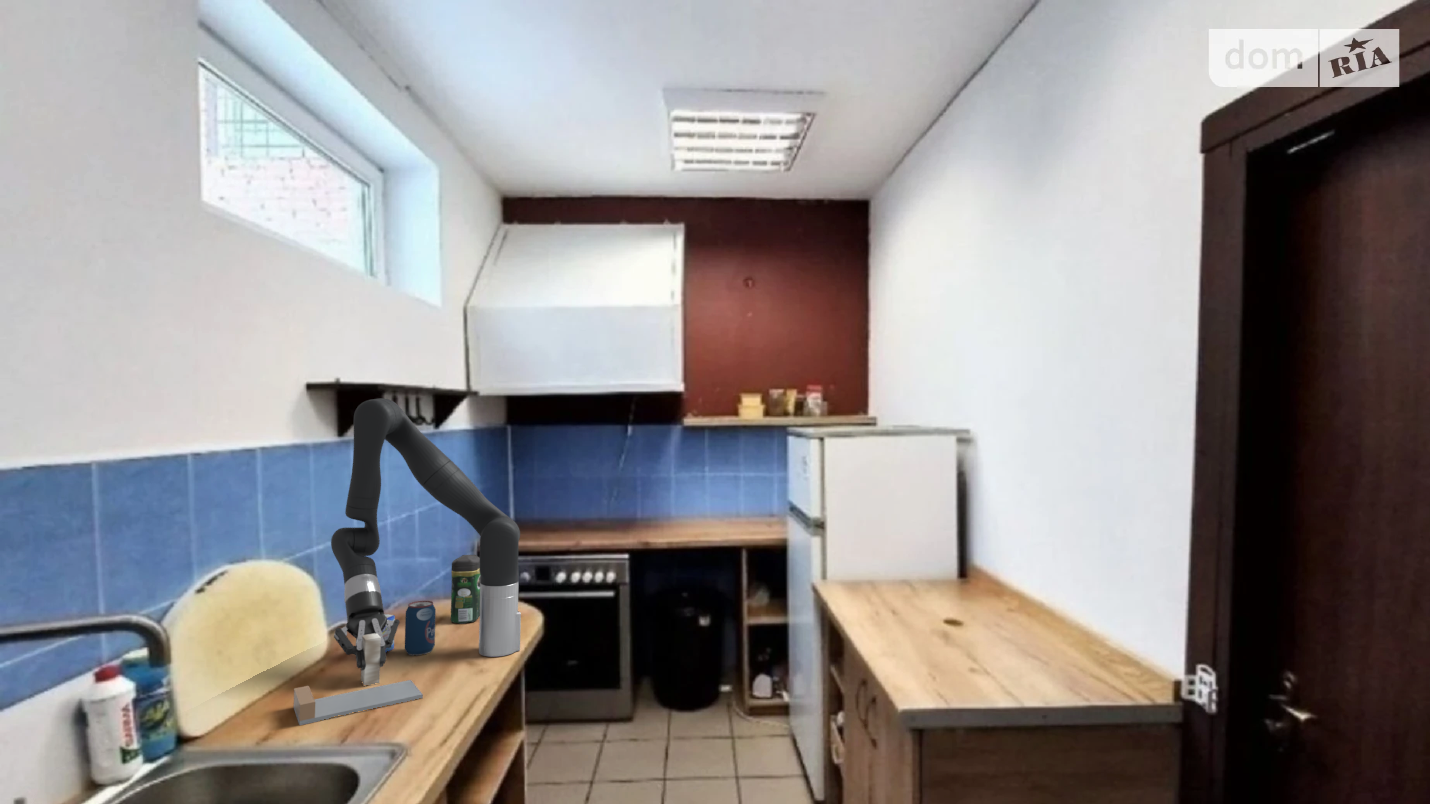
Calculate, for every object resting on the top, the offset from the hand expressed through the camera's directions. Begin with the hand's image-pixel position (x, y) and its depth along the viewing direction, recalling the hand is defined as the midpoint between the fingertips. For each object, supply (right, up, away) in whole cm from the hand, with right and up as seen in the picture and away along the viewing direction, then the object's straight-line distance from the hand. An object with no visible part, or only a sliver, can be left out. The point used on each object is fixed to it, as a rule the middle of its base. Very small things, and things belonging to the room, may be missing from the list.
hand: (372, 666), depth 148 cm
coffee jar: (+2, -6, +50) cm, 51 cm away
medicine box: (-9, -5, +20) cm, 23 cm away
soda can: (+1, -5, +22) cm, 22 cm away
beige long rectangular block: (-1, -4, +1) cm, 5 cm away
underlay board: (+2, -4, -10) cm, 11 cm away
